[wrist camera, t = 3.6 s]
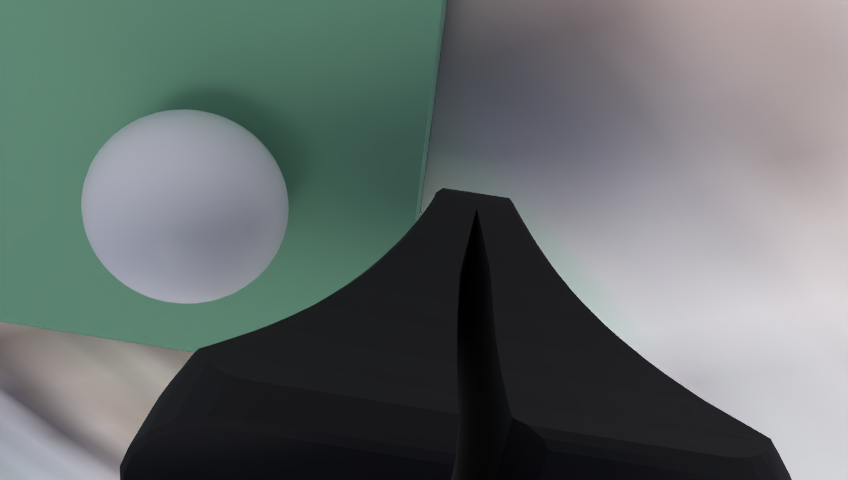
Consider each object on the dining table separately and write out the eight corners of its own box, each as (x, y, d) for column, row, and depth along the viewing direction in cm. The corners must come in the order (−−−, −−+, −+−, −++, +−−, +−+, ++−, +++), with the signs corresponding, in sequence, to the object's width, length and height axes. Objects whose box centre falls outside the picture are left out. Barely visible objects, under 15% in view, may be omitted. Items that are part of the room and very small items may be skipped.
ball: (153, 224, 14) (59, 327, 11) (130, 69, 12) (10, 144, 9) (308, 248, 14) (256, 358, 11) (310, 96, 12) (249, 181, 9)
